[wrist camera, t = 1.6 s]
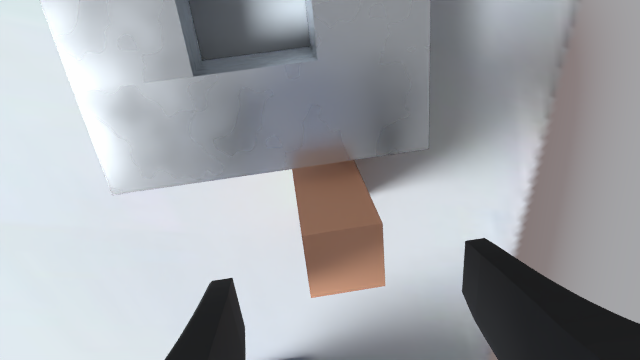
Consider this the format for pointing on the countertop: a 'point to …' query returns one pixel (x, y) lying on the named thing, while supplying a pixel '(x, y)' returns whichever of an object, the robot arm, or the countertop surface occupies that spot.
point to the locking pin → (339, 229)
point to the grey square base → (242, 90)
